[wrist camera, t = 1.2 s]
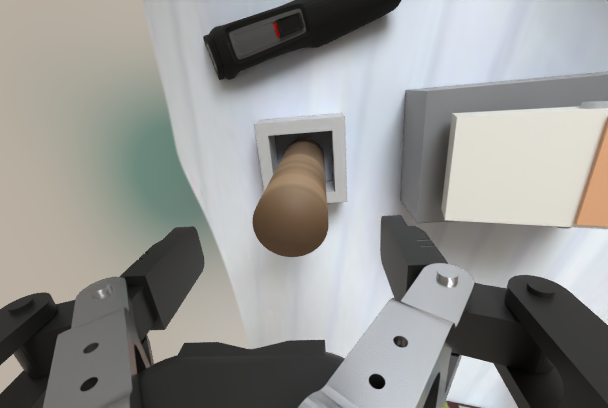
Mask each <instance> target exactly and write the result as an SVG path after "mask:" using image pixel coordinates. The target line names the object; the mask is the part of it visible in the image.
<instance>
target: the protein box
mask: <svg viewBox="0 0 608 408" xmlns="http://www.w3.org/2000/svg"><path fill="white" fill-rule="evenodd" d="M443 408H479V407H474V406H469V405H464V404H459V403H454V402H449V401H446V402H445V404H444V407H443Z"/></svg>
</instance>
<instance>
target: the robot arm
mask: <svg viewBox="0 0 608 408" xmlns="http://www.w3.org/2000/svg"><path fill="white" fill-rule="evenodd" d="M380 251H381V260H382V264H383V267H384V270H385V273H386V276H387V278H388V281H389V284H390V287H391V290H392V292H393V295H394V298H395V299H394V298H392V299H390V300H389V301H388V302H387V304H386V305H385V306H384V308H383V309H382V310H381V312H380V313H379V314H378V316H377V317H376V318H375V320H374V321H373V322H372V324H371V325H370V326H369V328H368V329H367V330H366V332H365V333H364V334H363V336H362V337H361V338H360V340H359V341H358V342H357V344H356V345H355V346H354V348H353V349H352V350H351V352H350V353H349V354H348V356H347V357H346V358H343V357H341V356H338V355H335V354H332V353H328V352H326V350H325V340H296V341H286V342H281V343H277V344H273V345H269V346H265V347H261V348H256V349H245V348H240V347H236V346H232V345H228V344H223V343H219V342H207V343H206V342H203V343H184V344H183V346H182V348H181V350H180V352H179V354H178V355H177V356H174V357H171V358H168V359H165V360H163V361H160V362H158V363H156V364H154V362H153V356H152V351H151V346H150V341H149V339H148V336H147V333H148V332H149V330H165V329H166V327H167V326H168V324H169V322H170V321H171V319H172V318H173V316H174V315H175V313H176V312H177V310H178V308H179V307H180V305H181V304H182V302H183V301H184V299H185V298H186V296H187V294H188V293H189V291H190V290H191V288H192V286H193V285H194V283H195V282H196V280H197V279H198V277H199V276H200V274H201V273H202V271H203V268H204V256H203V252H202V248H201V244H200V240H199V237H198V233H197V230H196V229H195V227H193V226H192V227H177V228H174V229H173V230H172V231H171V232H170V233H169V234H168V235H167V236H166V237H165V238H164V239H163V240H161V241H160V242H158V243H156V244H154V245H153V246H152V247H151V248H149V249H148V250H147V251H146V252H145V254H143V255H142V256H141V257H140V258H139V260H137V261H136V262H135V263H134V264H132V265H131V266H130V267H129V268H128V269H127V270H126V271H125V272H124V273H123V274H122V275H121V276H120V277H111V278H106V279H102V280H100V281H97V282H95V283H93V284H91V285H89V286H88V287H86V288H85V289H83V290H82V291H81V292H80V293H79V294H78V295H77V297H76V299H75V300H73V301H68V302H64V303H60V304H55V303H54V301H53V299H52V297H51V295H50V294H49V293H36V294H32V295H28V296H25V297H23V298H20V299H18V300H16V301H14V302H12V303H10V304H8V305H6V306H5V307H3V308H2V309H0V365H1V364H2V363H3V362H4V361H5V360H7V359H8V358H9V357H10V356H11V355H12V354H14V356H15V357H16V358H17V360H18V362H19V363H20V364H21V366H22V367H23V369H24V371H23V372H22V373H21V374H20V375H19V376H18V377H17V378H16V379H15V380H14V381H13V382H12V383H11V384H10V385H9V386H8V387H7V388H6V389H5V390H4V391H3V392H2V393H1V394H0V408H443V407H444V404H445V401H446V398H447V395H448V393H449V390H450V387H451V384H452V381H453V379H454V376H455V373H456V370H457V367H458V365H459V362H460V359H461V356H462V355H464V356H468V357H472V358H476V359H480V360H484V361H488V362H492V363H494V365H495V367H496V369H497V370H498V372H499V374H500V376H501V377H502V379H503V381H504V383H505V384H506V386H507V388H508V390H509V392H510V393H511V395H512V397H513V399H514V400H515V402H516V404H517V406H518V408H608V325H607V324H606V323H605V322H603V321H602V320H601V319H600V318H599V317H598V316H597V315H595V314H594V313H593V312H592V311H591V310H590V309H589V308H588V307H586V306H585V305H584V304H583V303H582V302H581V301H580V300H578V299H577V298H576V297H575V296H574V295H573V294H572V293H571V292H569V291H568V290H567V289H566V288H564V287H562V286H561V285H559V284H557V283H555V282H553V281H550V280H547V279H545V278H541V277H537V276H530V275H519V276H514V277H512V278H511V279H510V280H509V281H508V285H507V289H506V288H500V287H494V286H487V285H482V284H478V283H474V279H473V277H472V276H471V275H470V274H469V273H468V272H467V271H466V270H464V269H462V268H460V267H457V266H454V265H451V264H448V262H447V261H446V260H445V258H444V257H443V256H442V254H441V253H440V252H439V250H438V249H437V248H436V247H435V245H434V244H433V242H432V241H430V238H429V237H428V235H427V234H426V233H425V232H424V231H423V230H421V229H419V228H417V227H416V226H408V225H407V224H406V222H405V221H404V219H403V218H402V216H401V215H396V216H382V218H381V246H380Z"/></svg>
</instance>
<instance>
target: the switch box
mask: <svg viewBox="0 0 608 408" xmlns="http://www.w3.org/2000/svg"><path fill="white" fill-rule="evenodd" d="M585 101H608V72H599V73H588V74H577V75H566V76H555V77H544V78H533V79H522V80H511V81H500V82H489V83H478V84H467V85H456V86H445V87H434V88H423V89H412V90H406V98H405V118H404V138H403V159H402V179H401V199H400V200H401V201H402V203H403V204H404V206H405V207H406V208H407V210H408V211H409V213H410V214H411V215H412V217H413V218H414V220H415V221H416V223H427V222H445V221H450V220H445V219H444V216H443V213H442V209H441V207H442V198H443V189H444V181H445V172H446V163H447V154H448V145H449V136H450V127H451V118H452V113H465V112H484V111H502V110H521V109H540V108H558V107H577V106H580V105H581V102H585Z"/></svg>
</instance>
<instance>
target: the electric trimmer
mask: <svg viewBox="0 0 608 408" xmlns="http://www.w3.org/2000/svg"><path fill="white" fill-rule="evenodd" d="M400 2H401V0H294V1H292V2H289V3H287V4H285V5H282V6H280V7H277V8H274V9H271V10H268V11H265V12H262V13H259V14H256V15H253V16H250V17H247V18H244V19H241V20H238V21H235V22H232V23H229V24H226V25H223V26H218V27H214V28H213V29H212V30H211V32H210V34H209V35H206V36H204V37H203V38H204V42H205V44H206V47H207V49H208V52H209V54H210V57H211V60H212V62H213V65H214V67H215V70H216V73H217V75H218V78H219V80H221V79H224V77H225V78H226V79H228V80H230V79H233V78H235V76H236V75H237V74H238V73H239V72H240V71H242V70H245V69H247V68H249V67H252V66H254V65H256V64H259V63H261V62H263V61H266V60H268V59H271V58H273V57H276V56H279V55H281V54H284V53H287V52H290V51H294V50H297V49H300V48H306V47H320V46H322V45H324V44H327V43H329V42H331V41H333V40H335V39H337V38H339V37H341V36H343V35H345V34H347V33H349V32H351V31H353V30H355V29H358V28H360V27H362V26H364V25H366V24H368V23H370V22H372V21H374V20H376V19H378V18H380V17H382V16H384V15H386V14H387V13H389V12H391V11H393V10H394V9H395V8H396V7H397V6H398V5H399V3H400ZM212 40H213V41H212Z"/></svg>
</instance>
